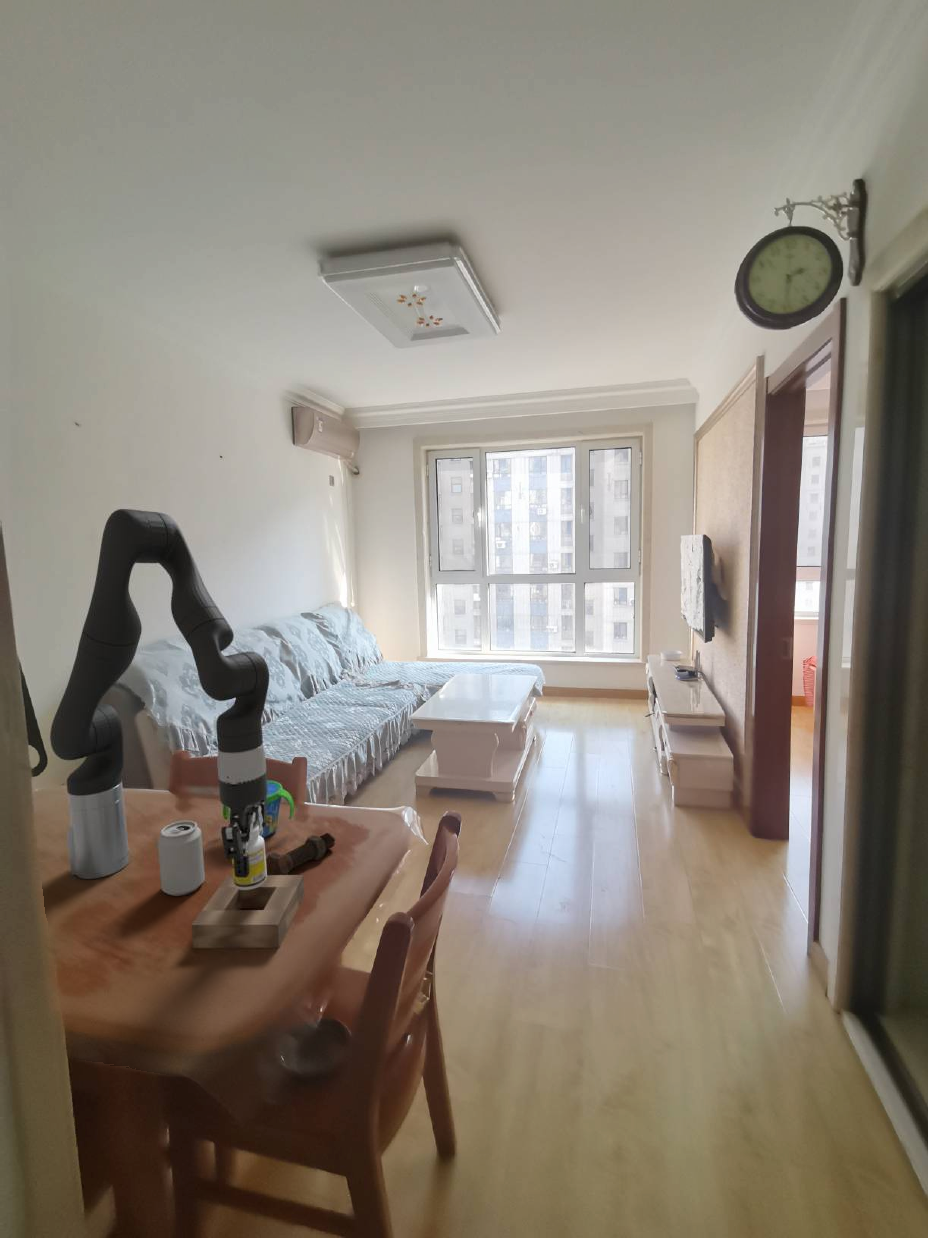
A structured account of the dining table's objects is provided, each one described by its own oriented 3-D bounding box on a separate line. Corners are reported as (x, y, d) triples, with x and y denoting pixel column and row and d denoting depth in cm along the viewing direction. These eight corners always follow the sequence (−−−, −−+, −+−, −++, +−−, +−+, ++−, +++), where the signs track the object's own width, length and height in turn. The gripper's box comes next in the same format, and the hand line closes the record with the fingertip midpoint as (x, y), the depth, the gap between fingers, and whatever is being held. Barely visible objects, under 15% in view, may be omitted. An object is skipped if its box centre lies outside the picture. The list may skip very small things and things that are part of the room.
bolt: (333, 857, 124) (275, 889, 112) (319, 840, 126) (260, 870, 114) (343, 838, 122) (284, 869, 109) (328, 821, 124) (269, 850, 112)
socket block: (193, 948, 94) (191, 925, 93) (229, 895, 107) (227, 875, 107) (279, 947, 93) (277, 924, 93) (304, 895, 107) (303, 875, 107)
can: (214, 879, 113) (209, 821, 111) (184, 901, 106) (178, 840, 104) (183, 872, 115) (179, 815, 114) (152, 894, 108) (147, 833, 107)
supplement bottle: (239, 874, 102) (235, 821, 101) (270, 872, 102) (267, 819, 101) (229, 892, 97) (225, 837, 95) (262, 890, 97) (259, 835, 96)
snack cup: (302, 822, 136) (300, 780, 134) (283, 845, 125) (280, 800, 124) (239, 819, 137) (236, 778, 136) (215, 842, 127) (212, 798, 126)
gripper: (237, 756, 104) (243, 845, 106) (200, 790, 90) (208, 891, 92) (279, 755, 104) (284, 844, 106) (248, 789, 90) (255, 891, 92)
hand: (249, 865), depth 99 cm, fingers closed on supplement bottle, 5 cm apart
